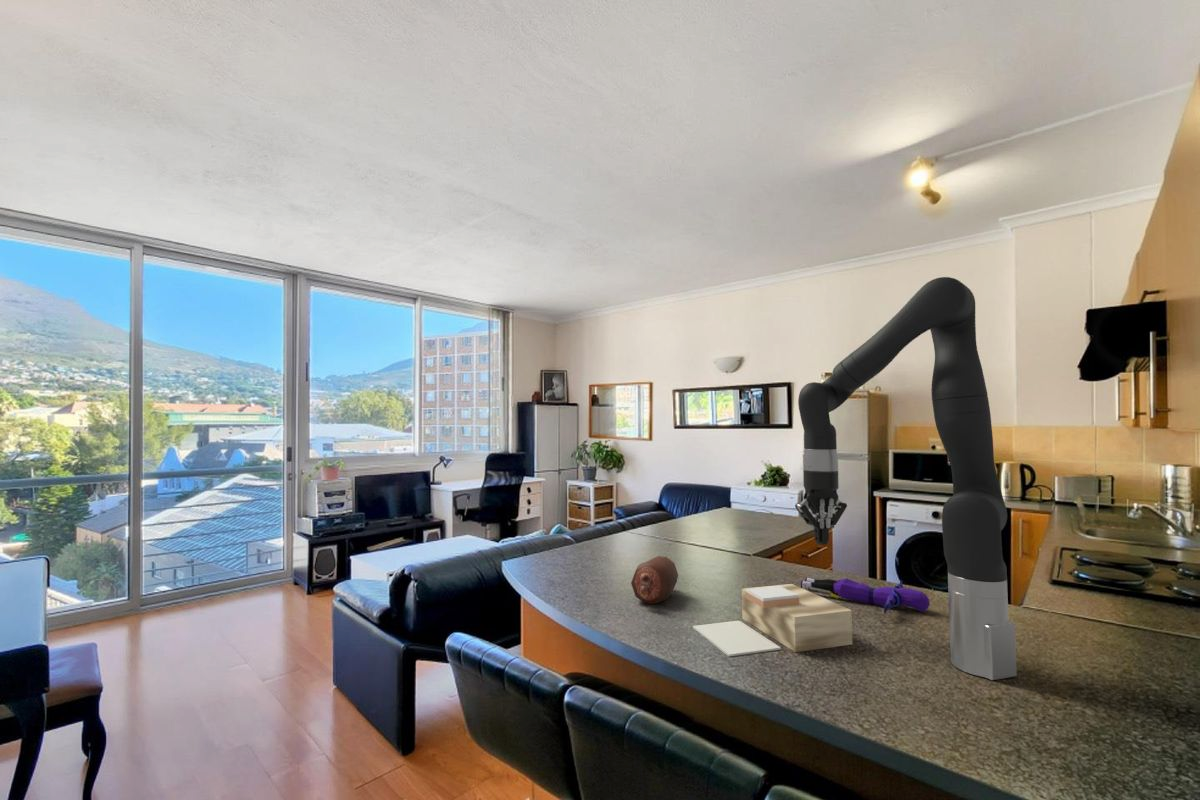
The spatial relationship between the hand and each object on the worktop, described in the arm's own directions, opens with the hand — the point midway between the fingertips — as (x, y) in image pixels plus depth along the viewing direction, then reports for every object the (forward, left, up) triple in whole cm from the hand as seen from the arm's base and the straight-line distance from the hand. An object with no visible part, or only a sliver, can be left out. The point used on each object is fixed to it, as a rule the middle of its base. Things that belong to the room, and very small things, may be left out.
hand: (821, 544), depth 122 cm
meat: (+30, +29, -19) cm, 46 cm away
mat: (0, +23, -19) cm, 30 cm away
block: (0, +8, -19) cm, 20 cm away
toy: (+12, -22, -19) cm, 32 cm away
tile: (0, +13, -12) cm, 18 cm away
